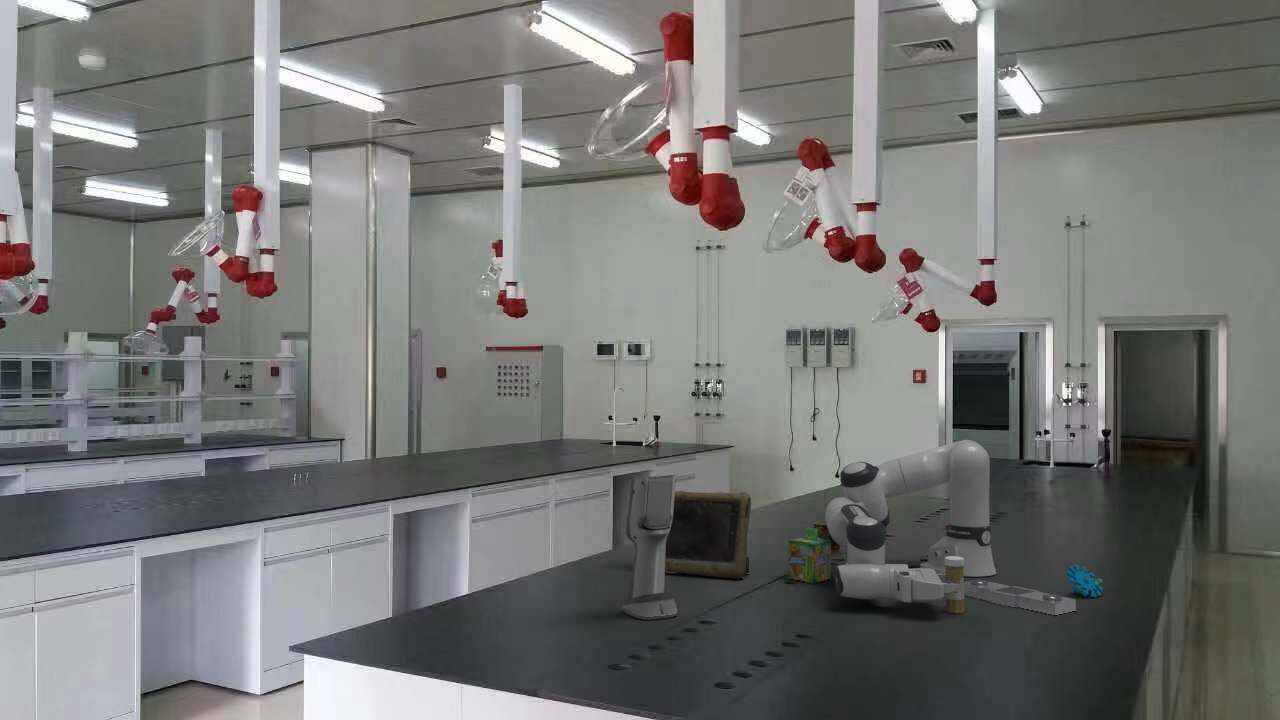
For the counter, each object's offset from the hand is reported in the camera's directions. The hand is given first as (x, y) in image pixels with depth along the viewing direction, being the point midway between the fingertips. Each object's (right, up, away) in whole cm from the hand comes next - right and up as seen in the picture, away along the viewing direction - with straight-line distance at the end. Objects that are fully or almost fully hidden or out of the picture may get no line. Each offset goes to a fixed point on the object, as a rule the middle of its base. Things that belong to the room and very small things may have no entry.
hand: (958, 583), depth 242 cm
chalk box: (-30, -9, +41) cm, 51 cm away
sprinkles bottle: (-1, -7, 0) cm, 7 cm away
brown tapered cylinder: (-17, -9, +83) cm, 85 cm away
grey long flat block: (+17, -7, +9) cm, 21 cm away
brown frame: (-62, -9, +52) cm, 81 cm away
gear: (+39, -7, +16) cm, 43 cm away
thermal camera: (-76, -8, +3) cm, 77 cm away
